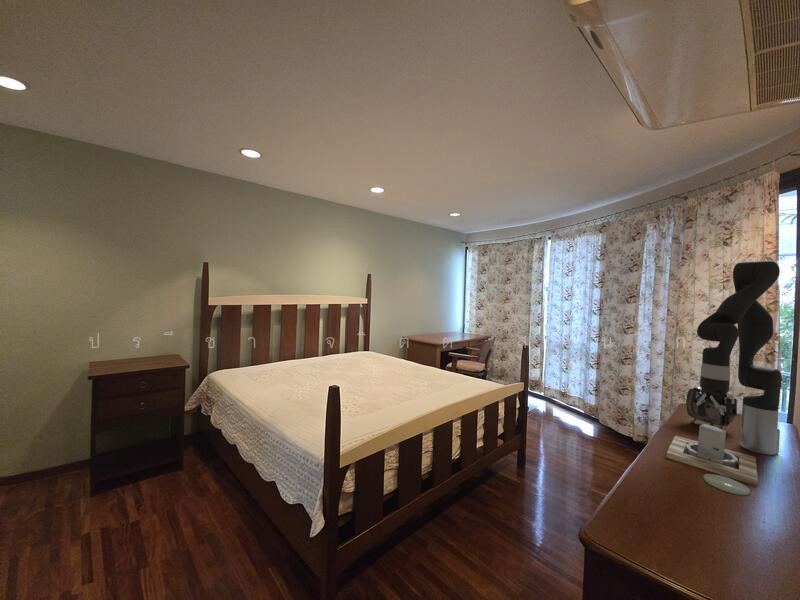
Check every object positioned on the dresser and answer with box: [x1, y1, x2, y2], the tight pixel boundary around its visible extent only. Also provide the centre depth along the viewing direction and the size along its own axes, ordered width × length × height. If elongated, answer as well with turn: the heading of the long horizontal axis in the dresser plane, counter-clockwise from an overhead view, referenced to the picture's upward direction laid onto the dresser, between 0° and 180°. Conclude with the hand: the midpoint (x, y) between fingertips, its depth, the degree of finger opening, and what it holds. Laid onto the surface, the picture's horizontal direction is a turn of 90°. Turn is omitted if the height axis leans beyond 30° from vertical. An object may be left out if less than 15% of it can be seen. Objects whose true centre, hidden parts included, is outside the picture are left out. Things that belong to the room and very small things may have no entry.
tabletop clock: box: [685, 388, 736, 430], centre depth 142 cm, size 14×9×25 cm, turn 23°
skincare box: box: [697, 423, 727, 460], centre depth 113 cm, size 6×4×12 cm
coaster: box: [703, 473, 751, 496], centre depth 97 cm, size 10×10×1 cm
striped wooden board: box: [666, 435, 759, 487], centre depth 113 cm, size 22×22×2 cm
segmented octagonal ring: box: [685, 443, 739, 469], centre depth 113 cm, size 13×13×3 cm
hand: (712, 420), depth 113 cm, fingers open, 8 cm apart
